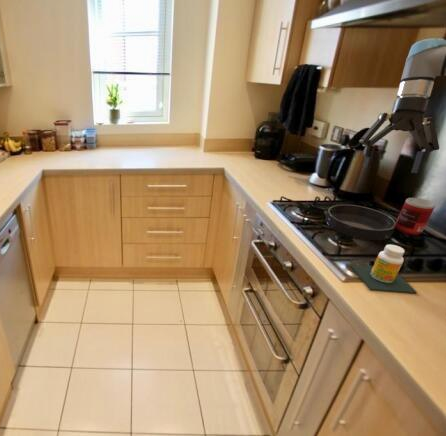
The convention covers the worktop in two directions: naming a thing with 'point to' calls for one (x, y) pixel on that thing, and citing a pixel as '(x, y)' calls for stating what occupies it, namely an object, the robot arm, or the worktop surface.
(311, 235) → the worktop surface
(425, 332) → the worktop surface
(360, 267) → the mat
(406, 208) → the red supplement tub
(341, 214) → the pan
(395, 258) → the supplement bottle
